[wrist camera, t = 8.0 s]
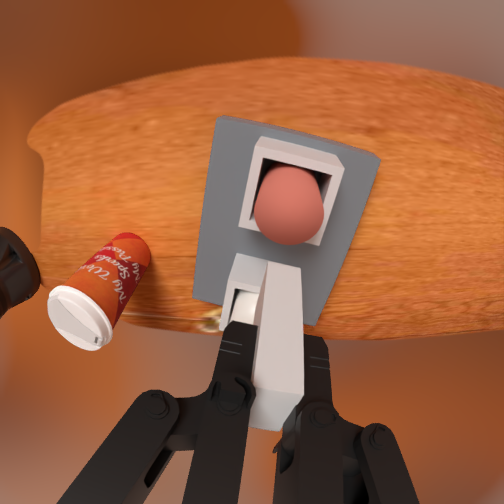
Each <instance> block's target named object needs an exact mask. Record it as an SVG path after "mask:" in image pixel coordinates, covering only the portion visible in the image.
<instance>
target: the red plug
mask: <svg viewBox="0 0 504 504" xmlns="http://www.w3.org/2000/svg"><path fill="white" fill-rule="evenodd" d="M254 217H255V222H256V224H257V226H258V228H259V230H260V231H261V232H262V233H263V234H264V235H265V236H266V237H267V238H268V239H270V240H272V241H274V242H276V243H279V244H284V245H295V244H300V243H303V242H305V241H307V240H309V239H311V238H312V237H313V236H314V235H315V234H316V233H317V232H318V231H319V229H320V227H321V225H322V223H323V219H324V208H323V203H322V199H321V195H320V191H319V187H318V183H317V179H316V176H315V173H314V172H313V170H312V169H308V168H305V167H301V166H297V165H293V164H289V163H285V162H281V161H276V162H274V163H273V164H272V165H271V166H270V167H269V168H268V169H267V170H266V172H265V174H264V178H263V181H262V184H261V187H260V190H259V194H258V197H257V200H256V203H255V207H254Z"/></svg>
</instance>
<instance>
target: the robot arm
mask: <svg viewBox="0 0 504 504" xmlns="http://www.w3.org/2000/svg"><path fill="white" fill-rule="evenodd" d="M39 286H40V276H39V272H38V268H37V265H36V263H35V261H34V258H33V256H32V255H31V253H30V251H29V250H28V248H27V247H26V245H25V244H24V242H23V241H22V240H21V239H20V238H19V237H18V236H17V235H16V234H15V233H14V232H12V231H11V230H9V229H7V228H5V227H0V319H1V317H2V316H3V315H4V314H5V313H6V312H7V311H8V309H10V308H12V307H14V306H16V305H18V304H20V303H22V302H24V301H26V300H28V299H30V298H31V297H32V296H33V295H34V294H35V293H36V292H37V291H38V289H39ZM329 368H330V365H329V354H328V347H327V345H326V344H325V342H324V340H323V338H322V337H318V336H312V335H307V334H303V310H302V285H301V268H297V267H292V266H288V265H283V264H279V263H274V262H270V261H268V264H267V267H266V271H265V275H264V278H263V282H262V286H261V289H260V293H259V296H258V300H257V304H256V308H255V315H254V321H253V325H252V324H247V323H243V322H238V321H234V320H232V321H231V322H230V323H229V324H228V325H227V326H226V327H225V329H224V333H223V337H222V341H221V345H220V349H219V353H218V357H217V361H216V365H215V370H214V373H213V377H212V381H211V383H210V385H209V387H208V389H207V390H206V391H205V392H203V393H202V394H200V395H198V396H195V397H189V398H174V397H173V396H172V395H170V394H169V393H168V392H165V391H162V390H149V391H146V392H143V393H142V394H141V395H140V396H138V397H137V398H136V400H135V401H134V402H133V404H132V405H131V406H130V408H129V409H128V410H127V412H126V413H125V414H124V415H123V417H122V418H121V419H120V421H119V422H118V423H117V425H116V426H115V427H114V429H113V430H112V431H111V433H110V434H109V435H108V436H107V438H106V439H105V440H104V442H103V443H102V444H101V446H100V447H99V448H98V450H97V451H96V452H95V454H94V455H93V456H92V458H91V459H90V460H89V461H88V463H87V464H86V465H85V467H84V468H83V470H82V471H81V472H80V473H79V475H78V476H77V477H76V479H75V480H74V481H73V482H72V484H71V485H70V486H69V488H68V489H67V490H66V492H65V493H64V494H63V496H62V497H61V498H60V500H59V501H58V502H57V504H143V503H144V501H145V500H146V498H147V496H148V495H149V493H150V492H151V490H152V489H153V487H154V485H155V484H156V482H157V481H158V479H159V477H160V475H161V474H162V473H163V471H164V469H165V468H166V466H167V465H168V463H169V461H170V460H171V458H172V456H173V455H174V453H175V451H185V450H194V454H193V458H192V462H191V467H190V471H189V475H188V479H187V484H186V488H185V492H184V497H183V501H182V504H237V503H238V496H239V489H240V483H241V476H242V468H243V461H244V454H245V447H246V439H247V432H248V427H252V428H259V429H264V430H271V431H280V429H281V428H282V427H283V434H282V438H281V439H280V441H279V442H278V443H277V444H276V446H275V447H274V449H273V453H276V452H277V463H276V473H275V484H274V495H273V504H419V501H418V498H417V495H416V492H415V490H414V487H413V484H412V481H411V478H410V476H409V473H408V470H407V468H406V465H405V462H404V460H403V457H402V454H401V451H400V449H399V446H398V444H397V441H396V439H395V437H394V434H393V433H392V431H391V430H390V429H389V428H388V427H387V426H385V425H383V424H380V423H373V424H370V425H368V426H366V427H365V428H364V427H361V426H358V425H356V424H353V423H350V422H348V421H346V420H344V419H343V418H342V417H340V416H339V413H338V412H337V411H336V410H335V408H334V407H333V402H332V390H331V378H330V370H329Z"/></svg>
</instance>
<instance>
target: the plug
mask: <svg viewBox="0 0 504 504" xmlns="http://www.w3.org/2000/svg"><path fill="white" fill-rule="evenodd" d="M258 296H259V293H255V292H250V291H246V290H242V289H238V293H237V297H236V301H235V305H234V308H233V312H232V316H231V320H230V322H231V321H232V320H234V321H238V322H243V323H247V324H252V325H253V321H254V315H255V308H256V304H257V300H258Z"/></svg>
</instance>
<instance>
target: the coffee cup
mask: <svg viewBox="0 0 504 504" xmlns="http://www.w3.org/2000/svg"><path fill="white" fill-rule="evenodd" d="M150 258H151V255H150V250H149V248H148V246H147V244H146V243H145V242H144V241H143V240H142V239H141V238H140V237H139V236H137V235H135V234H133V233H121V234H119V235H118V236H116V237H115V238H114V239H112V240H111V241H110V242H109V243H108V244H106V245H105V246H104V247H103V248H102V249H101V250H99V251H98V252H97V253H96V254H95V255H94V256H93V257H92V258H90V259H89V260H88V261H87V262H86V263H85V264H84V265H83V266H82V267H81V268H79V269H78V270H77V271H76V272H75V273H74V274H73V275H72V276H71V277H70V278H69V279H68V280H67V281H66V282H65V283H64V284H63V285H62V286H57V287H56V288H54V289H53V290H52V291H51V292H50V294H49V299H48V314H49V317H50V319H51V321H52V323H53V325H54V327H55V328H56V329H57V331H58V332H59V333H60V334H61V335H62V336H63V337H64V338H65V339H67V340H68V341H69V342H71V343H72V344H74V345H76V346H77V347H80V348H82V349H85V350H90V351H91V350H97V349H99V348H101V347H102V346H103V345H105V344H107V343H109V342H110V341H111V338H112V330H113V328H114V326H115V324H116V323H117V321H118V319H119V317H120V315H121V313H122V312H123V310H124V308H125V306H126V304H127V302H128V301H129V299H130V297H131V295H132V293H133V292H134V290H135V288H136V286H137V285H138V283H139V281H140V279H141V278H142V276H143V274H144V272H145V270H146V269H147V267H148V265H149V262H150Z"/></svg>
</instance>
